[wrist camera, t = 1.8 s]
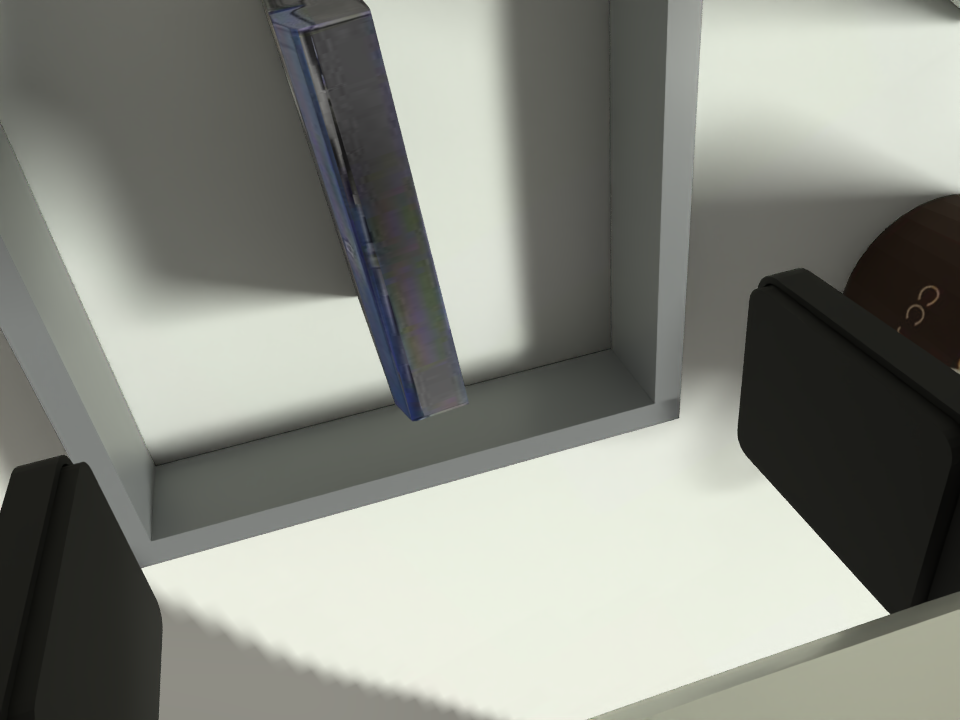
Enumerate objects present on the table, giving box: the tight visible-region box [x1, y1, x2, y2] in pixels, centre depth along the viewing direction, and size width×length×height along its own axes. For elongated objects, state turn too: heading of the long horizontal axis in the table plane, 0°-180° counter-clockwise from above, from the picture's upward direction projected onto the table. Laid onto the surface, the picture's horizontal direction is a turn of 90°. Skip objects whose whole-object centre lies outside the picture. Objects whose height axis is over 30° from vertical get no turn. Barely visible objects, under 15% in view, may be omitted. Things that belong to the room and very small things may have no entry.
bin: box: [0, 0, 703, 568], centre depth 18 cm, size 18×16×3 cm
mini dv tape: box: [262, 0, 469, 421], centre depth 17 cm, size 8×2×6 cm, turn 11°
